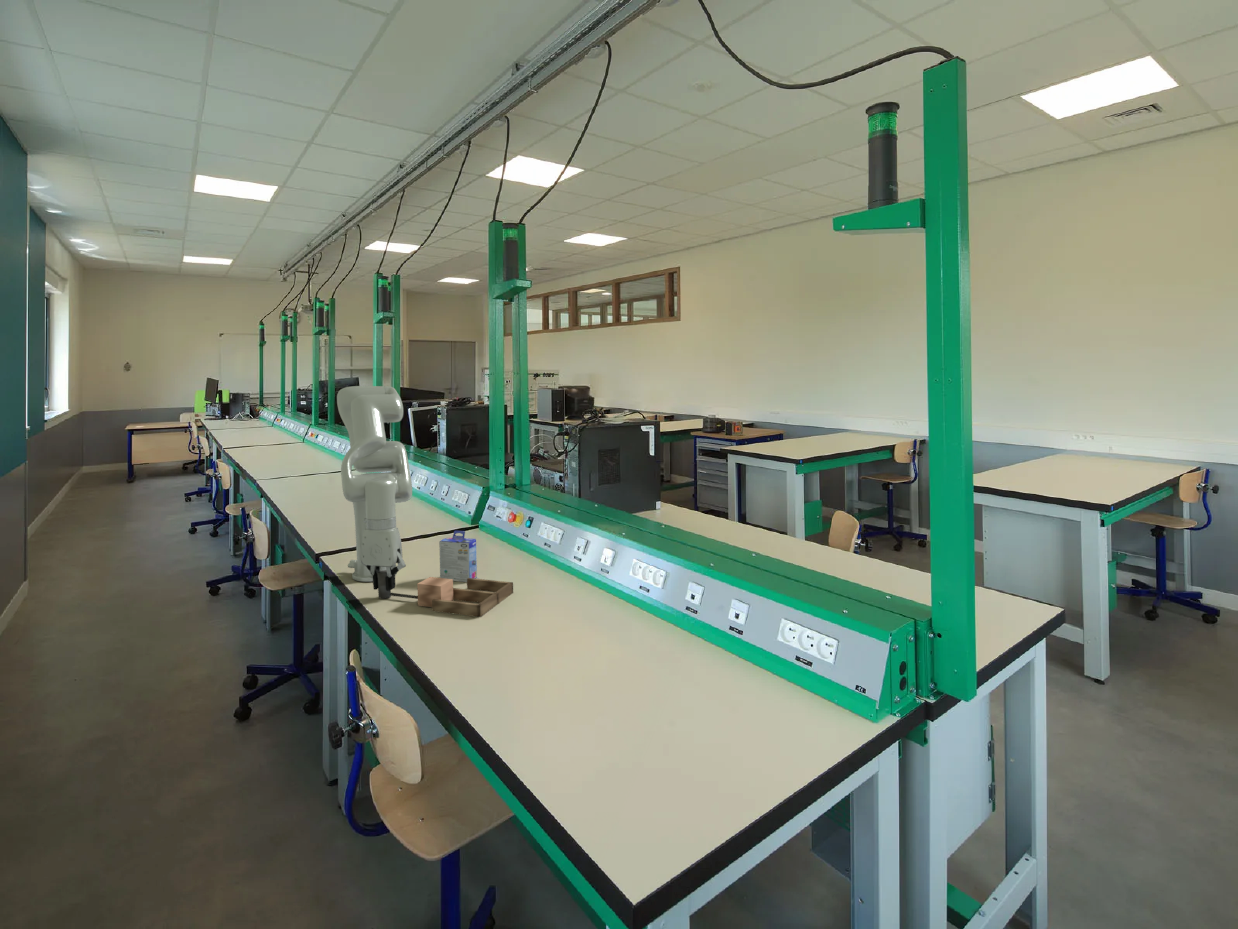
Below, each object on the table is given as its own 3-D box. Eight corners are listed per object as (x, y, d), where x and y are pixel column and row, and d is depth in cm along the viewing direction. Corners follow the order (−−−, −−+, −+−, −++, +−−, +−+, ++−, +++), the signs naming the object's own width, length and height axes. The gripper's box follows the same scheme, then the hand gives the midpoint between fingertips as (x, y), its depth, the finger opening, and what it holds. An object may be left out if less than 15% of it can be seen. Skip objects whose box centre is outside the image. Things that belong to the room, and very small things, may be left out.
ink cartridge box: (478, 577, 190) (476, 530, 188) (470, 583, 185) (469, 535, 183) (448, 575, 192) (446, 529, 190) (439, 580, 186) (437, 533, 184)
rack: (432, 611, 162) (431, 600, 162) (468, 587, 180) (468, 577, 180) (480, 617, 158) (480, 605, 158) (513, 592, 176) (513, 582, 176)
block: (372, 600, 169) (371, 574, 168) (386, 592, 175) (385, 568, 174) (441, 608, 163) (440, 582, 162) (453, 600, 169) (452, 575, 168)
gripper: (346, 524, 167) (349, 590, 170) (399, 529, 163) (402, 596, 166) (364, 518, 174) (367, 581, 177) (416, 522, 170) (418, 587, 173)
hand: (384, 588), depth 171 cm, fingers closed on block, 3 cm apart
